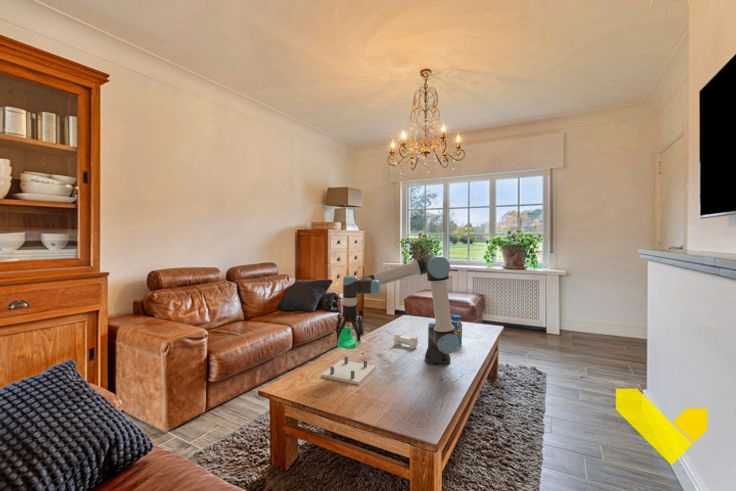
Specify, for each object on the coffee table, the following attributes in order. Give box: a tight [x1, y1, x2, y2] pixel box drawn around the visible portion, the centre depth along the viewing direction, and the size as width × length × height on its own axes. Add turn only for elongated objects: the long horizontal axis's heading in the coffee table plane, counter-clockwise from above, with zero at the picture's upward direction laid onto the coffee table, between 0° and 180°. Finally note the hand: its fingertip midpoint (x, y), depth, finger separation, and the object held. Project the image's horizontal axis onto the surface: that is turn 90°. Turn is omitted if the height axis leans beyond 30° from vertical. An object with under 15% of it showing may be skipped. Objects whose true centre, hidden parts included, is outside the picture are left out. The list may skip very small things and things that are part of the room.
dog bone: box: [393, 332, 419, 350], centre depth 228 cm, size 15×9×8 cm, turn 56°
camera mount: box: [336, 326, 362, 350], centre depth 184 cm, size 12×8×10 cm, turn 144°
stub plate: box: [320, 355, 377, 386], centre depth 184 cm, size 22×22×5 cm
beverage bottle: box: [450, 314, 463, 347], centre depth 233 cm, size 8×8×20 cm
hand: (349, 346), depth 184 cm, fingers closed on camera mount, 8 cm apart
